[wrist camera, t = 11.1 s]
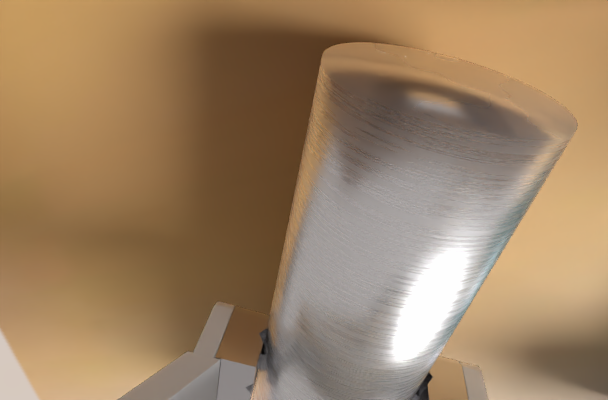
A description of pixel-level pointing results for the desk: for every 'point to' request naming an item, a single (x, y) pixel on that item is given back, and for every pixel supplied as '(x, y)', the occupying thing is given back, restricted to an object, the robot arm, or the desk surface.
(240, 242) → the desk surface
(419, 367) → the steel axle
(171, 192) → the desk surface
